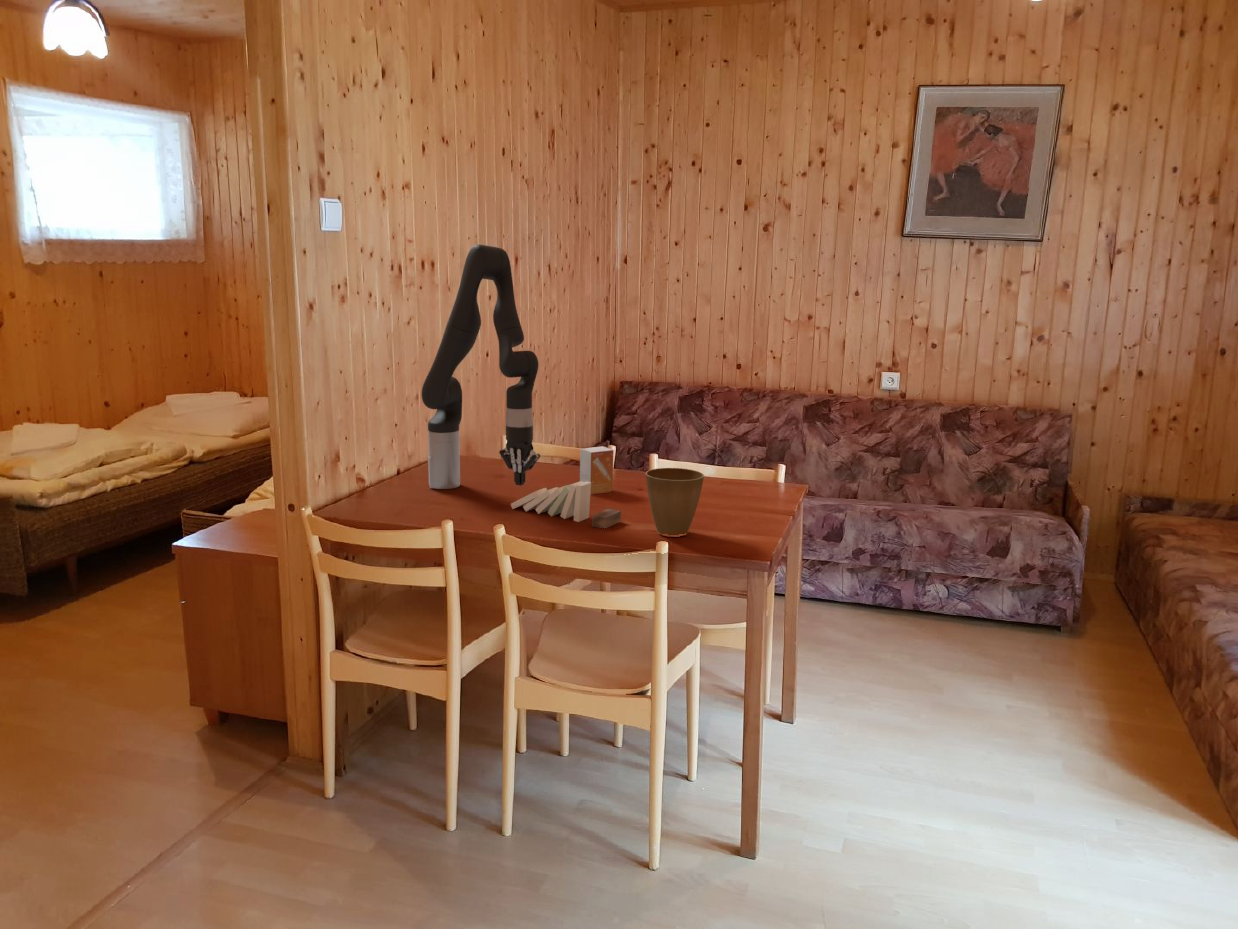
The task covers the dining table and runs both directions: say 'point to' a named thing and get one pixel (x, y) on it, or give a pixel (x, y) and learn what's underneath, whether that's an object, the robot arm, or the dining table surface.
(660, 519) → the plant pot
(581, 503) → the domino
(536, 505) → the domino
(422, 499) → the dining table surface
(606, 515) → the stop block
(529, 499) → the domino
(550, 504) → the domino
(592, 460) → the small box
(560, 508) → the domino
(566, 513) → the domino
